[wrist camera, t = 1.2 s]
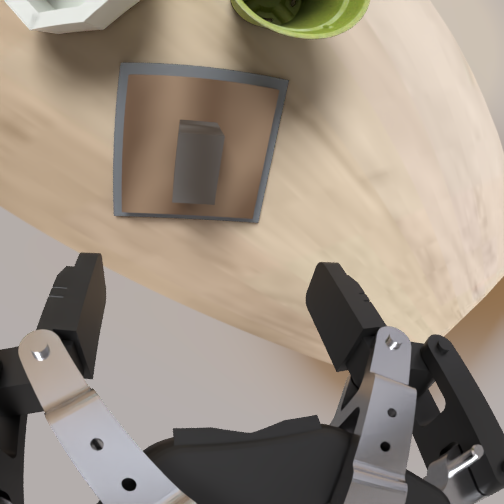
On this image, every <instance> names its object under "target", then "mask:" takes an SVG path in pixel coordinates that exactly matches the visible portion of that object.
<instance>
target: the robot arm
mask: <svg viewBox="0 0 504 504" xmlns="http://www.w3.org/2000/svg"><path fill="white" fill-rule="evenodd" d="M364 293H365V292H364V291H363V289H362V288H361V286H360V285H359V284H358V283H357V282H356V281H355V280H354V279H353V278H351V277H350V276H349V275H347V274H346V273H345V271H344V270H343V268H342V267H341V266H340V264H339V263H331V262H320V263H318V264H317V266H316V268H315V271H314V274H313V277H312V279H311V282H310V285H309V287H308V290H307V293H306V306H307V308H308V311H309V313H310V315H311V317H312V319H313V321H314V324H315V326H316V328H317V330H318V332H319V334H320V336H321V339H322V341H323V343H324V345H325V347H326V350H327V352H328V354H329V356H330V358H331V360H332V363H333V365H334V367H335V369H336V372H339V371H345V370H348V371H349V372H350V375H349V376H348V378H347V380H346V383H345V386H344V390H343V393H342V396H341V399H340V402H339V405H338V408H337V411H336V414H335V416H334V418H333V420H332V422H331V424H330V425H326V424H320V422H319V419H318V416H317V415H314V416H309V417H302V418H296V419H290V420H284V421H282V422H279V423H277V424H274V425H272V426H269V427H267V428H264V429H262V430H259V431H256V432H253V433H244V432H237V431H230V430H223V429H217V428H181V429H180V428H174V429H173V436H174V437H172V438H169V439H165V440H162V441H160V442H157V443H155V444H153V445H151V446H149V447H148V448H146V449H145V450H143V451H142V450H141V449H140V448H139V446H138V445H137V444H136V443H135V442H134V441H133V439H132V438H131V437H130V436H129V435H128V433H127V432H126V431H125V430H124V429H123V427H122V426H121V425H120V423H119V422H118V421H117V420H116V418H115V417H114V416H113V414H112V413H111V412H110V410H109V409H108V408H107V407H106V405H105V404H104V402H103V401H102V399H101V398H100V397H99V395H98V394H97V393H96V392H95V390H94V389H91V388H90V387H89V386H88V384H87V383H86V381H85V380H84V378H85V379H93V374H94V366H95V360H96V352H97V346H98V340H99V335H100V329H101V324H102V319H103V313H104V308H105V303H106V286H105V278H104V271H103V262H102V256H101V254H100V253H80V254H79V256H78V259H77V261H76V264H75V266H74V267H72V266H71V267H70V266H66V267H65V268H64V269H63V270H62V271H61V272H60V273H59V274H58V275H57V277H56V280H55V282H54V284H53V288H52V289H51V292H50V294H49V297H48V299H47V302H46V304H45V307H44V310H43V312H42V315H41V318H40V321H39V323H38V326H37V329H36V330H35V331H32V332H31V333H29V334H27V335H26V336H25V337H24V338H23V339H22V341H21V342H20V345H19V346H18V347H14V348H8V349H2V350H0V504H24V494H23V492H24V491H23V472H24V447H25V434H26V423H27V414H29V413H35V412H42V411H45V417H46V419H47V421H48V423H49V425H50V426H51V428H52V430H53V432H54V433H55V435H56V437H57V439H58V440H59V442H60V444H61V445H62V447H63V448H64V450H65V451H66V453H67V455H68V456H69V458H70V459H71V461H72V462H73V464H74V465H75V467H76V468H77V469H78V471H79V472H80V474H81V475H82V477H83V478H84V479H85V481H86V482H87V483H88V485H89V486H90V487H91V489H92V490H93V491H94V493H95V494H96V495H97V496H98V498H99V499H100V501H99V502H98V503H97V504H474V503H476V502H478V501H480V500H482V499H484V498H486V497H488V496H490V495H492V494H494V493H496V492H497V491H499V490H501V489H503V488H504V434H503V431H502V429H501V428H500V426H499V424H498V422H497V420H496V418H495V416H494V414H493V412H492V410H491V408H490V407H489V405H488V403H487V401H486V399H485V397H484V396H483V394H482V392H481V391H480V389H479V387H478V385H477V384H476V382H475V380H474V379H473V377H472V375H471V373H470V372H469V370H468V368H467V367H466V365H465V364H464V362H463V360H462V359H461V357H460V356H459V354H458V352H457V351H456V349H455V348H454V346H453V345H452V343H451V342H450V341H449V340H448V339H446V338H445V337H443V336H441V335H436V334H435V335H431V336H430V337H429V338H428V339H427V341H426V342H425V343H424V344H422V343H415V342H410V340H409V338H408V337H407V336H406V335H405V334H404V333H403V332H402V331H401V330H399V329H397V328H394V327H390V326H386V324H385V323H384V321H383V320H382V318H381V317H380V315H379V313H378V312H377V310H376V309H375V307H374V306H373V304H372V303H371V302H369V298H368V297H367V295H366V294H364ZM435 381H436V383H437V385H438V387H439V389H440V391H441V392H442V394H443V396H444V398H445V402H446V405H445V409H444V411H443V412H442V413H440V411H439V409H438V407H437V405H436V403H435V401H434V399H433V397H432V395H431V394H430V392H429V390H428V388H429V387H430V386H431V385H432V384H433V383H434V382H435ZM412 434H413V436H414V439H415V441H416V443H417V446H418V448H419V451H420V453H421V455H422V458H423V460H424V463H425V465H426V468H427V476H425V477H424V478H423V479H422V478H420V477H418V476H416V475H415V474H413V473H412V472H410V471H408V470H407V469H406V467H407V461H408V456H409V450H410V444H411V438H412Z"/></svg>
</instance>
